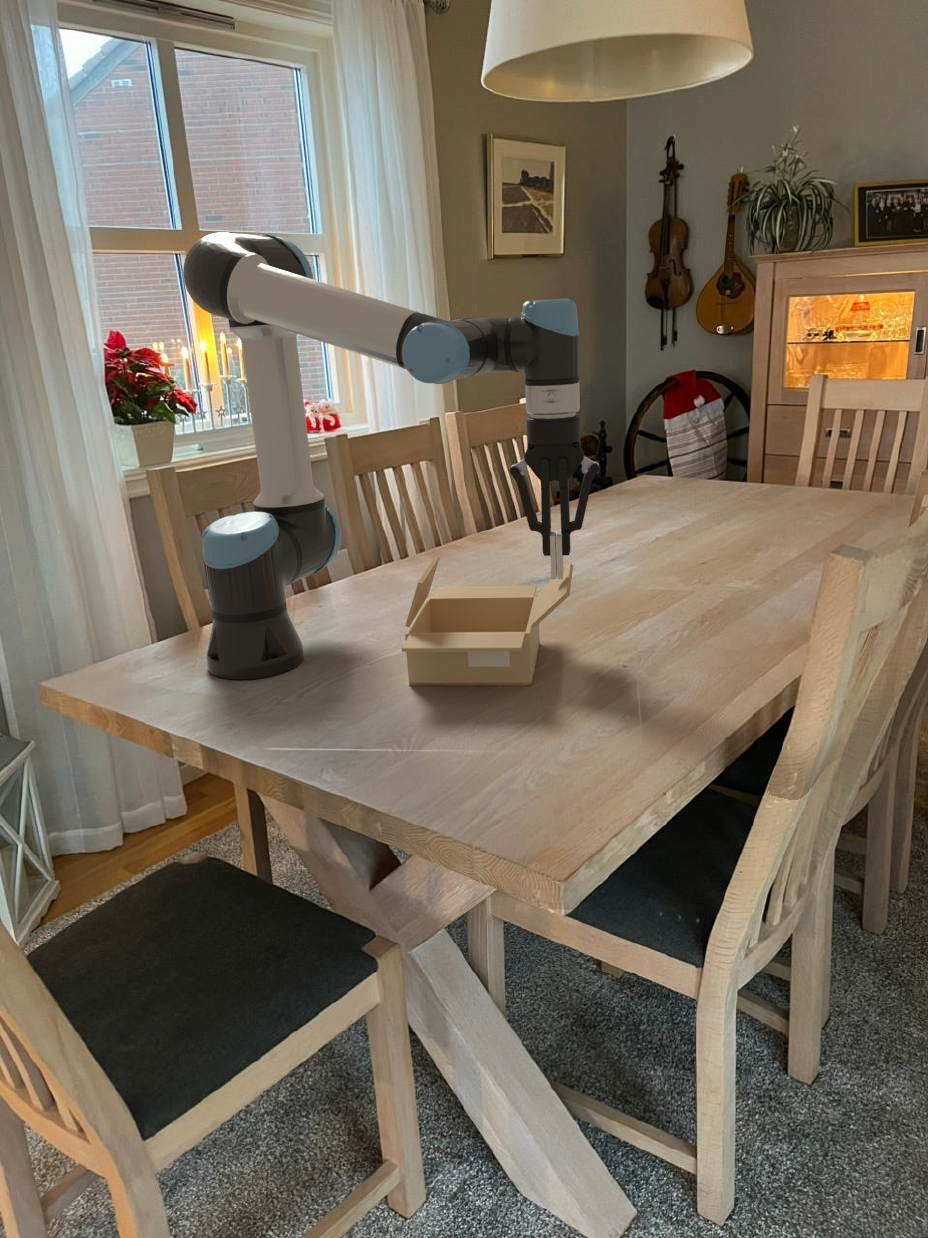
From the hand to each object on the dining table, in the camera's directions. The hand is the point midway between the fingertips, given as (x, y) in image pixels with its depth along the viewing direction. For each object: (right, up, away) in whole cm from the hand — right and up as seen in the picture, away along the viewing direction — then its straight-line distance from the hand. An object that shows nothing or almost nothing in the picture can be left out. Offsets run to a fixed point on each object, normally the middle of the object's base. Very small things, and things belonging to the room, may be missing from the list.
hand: (557, 576), depth 143 cm
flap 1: (-21, -5, +5) cm, 22 cm away
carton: (-12, -13, +6) cm, 19 cm away
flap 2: (-3, -5, +2) cm, 6 cm away
